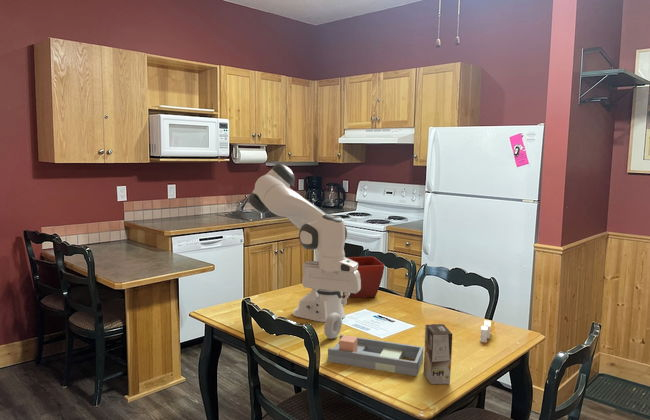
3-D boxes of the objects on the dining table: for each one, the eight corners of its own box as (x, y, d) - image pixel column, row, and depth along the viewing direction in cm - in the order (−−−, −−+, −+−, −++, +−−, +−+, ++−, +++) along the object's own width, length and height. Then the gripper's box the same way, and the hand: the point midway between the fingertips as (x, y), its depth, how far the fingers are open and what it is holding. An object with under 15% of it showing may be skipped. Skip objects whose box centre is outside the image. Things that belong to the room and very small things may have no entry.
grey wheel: (329, 343, 184) (330, 317, 183) (321, 341, 186) (322, 315, 184) (343, 335, 192) (343, 310, 191) (335, 333, 194) (336, 308, 193)
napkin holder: (484, 330, 202) (485, 316, 201) (508, 339, 192) (509, 325, 192) (459, 337, 194) (459, 323, 193) (482, 347, 184) (483, 332, 183)
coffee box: (451, 384, 153) (453, 334, 151) (430, 384, 153) (433, 334, 151) (441, 371, 162) (443, 323, 160) (422, 371, 162) (424, 323, 160)
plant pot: (345, 300, 236) (346, 266, 234) (336, 289, 254) (337, 257, 252) (384, 299, 240) (385, 265, 238) (372, 288, 258) (373, 256, 256)
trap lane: (327, 361, 168) (327, 349, 167) (340, 346, 181) (340, 334, 181) (416, 376, 158) (417, 363, 158) (423, 359, 171) (423, 346, 171)
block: (338, 354, 168) (339, 340, 167) (343, 349, 173) (343, 335, 172) (353, 356, 166) (353, 342, 166) (357, 351, 171) (357, 337, 170)
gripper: (299, 261, 169) (299, 301, 170) (357, 267, 162) (356, 309, 163) (306, 258, 174) (306, 296, 176) (362, 263, 168) (361, 303, 169)
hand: (330, 302), depth 170 cm, fingers open, 8 cm apart
